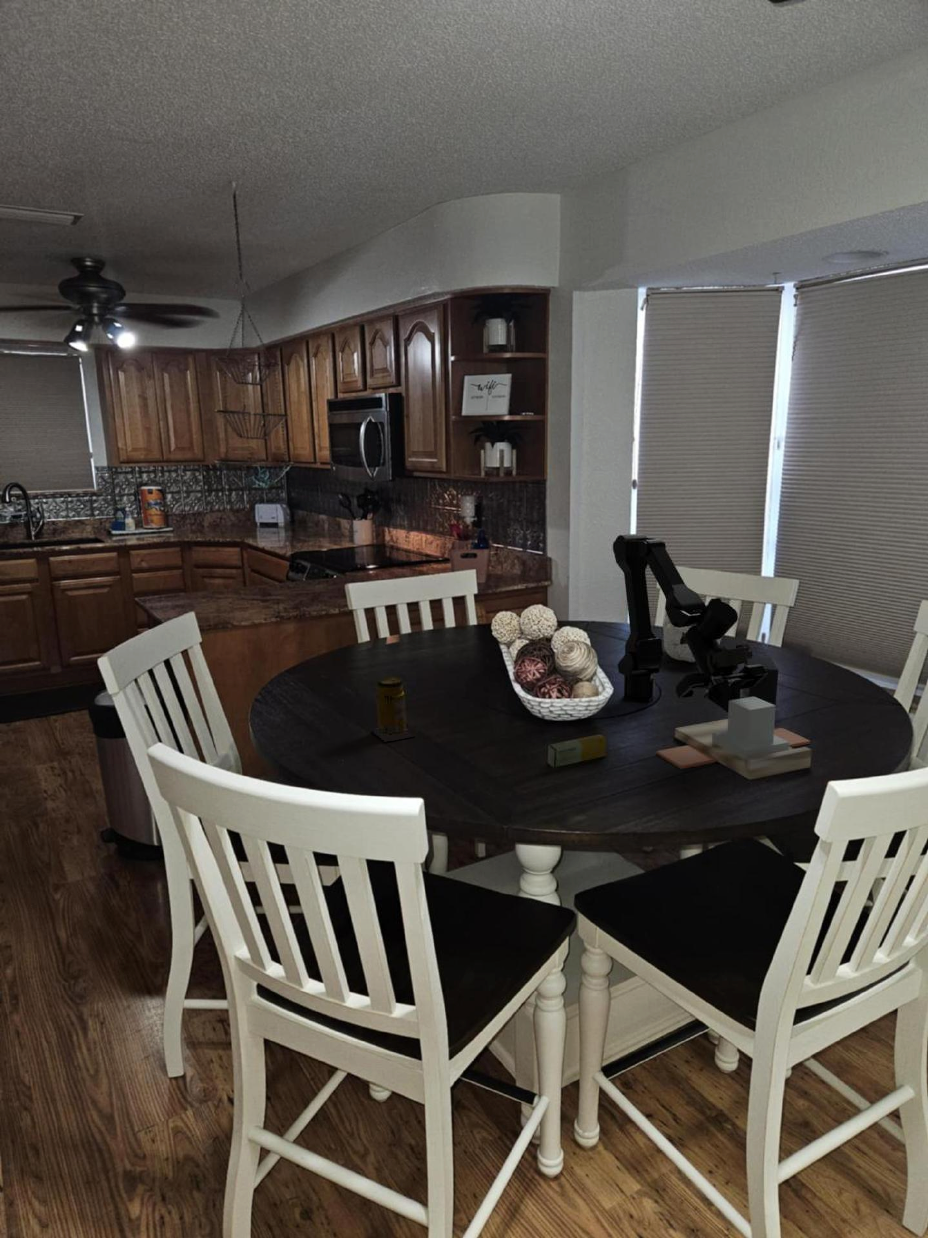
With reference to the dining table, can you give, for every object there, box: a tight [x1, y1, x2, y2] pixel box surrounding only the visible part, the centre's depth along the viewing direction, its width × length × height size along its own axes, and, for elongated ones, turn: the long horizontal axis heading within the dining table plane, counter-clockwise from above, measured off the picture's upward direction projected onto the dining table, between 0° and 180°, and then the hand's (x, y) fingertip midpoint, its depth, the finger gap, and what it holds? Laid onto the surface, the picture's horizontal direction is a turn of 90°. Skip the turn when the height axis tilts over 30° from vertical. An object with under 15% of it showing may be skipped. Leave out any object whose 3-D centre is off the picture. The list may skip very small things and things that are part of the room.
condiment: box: [376, 677, 407, 735], centre depth 170 cm, size 7×8×12 cm
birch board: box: [674, 718, 812, 781], centre depth 157 cm, size 23×14×4 cm, turn 20°
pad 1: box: [656, 744, 717, 770], centre depth 155 cm, size 8×8×1 cm
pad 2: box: [774, 727, 811, 748], centre depth 162 cm, size 8×8×1 cm
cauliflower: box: [662, 602, 723, 663], centre depth 222 cm, size 20×18×16 cm
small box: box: [740, 656, 779, 709], centre depth 182 cm, size 11×6×10 cm, turn 168°
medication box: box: [547, 733, 608, 768], centre depth 155 cm, size 12×3×4 cm, turn 113°
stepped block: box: [712, 697, 789, 760], centre depth 153 cm, size 10×10×9 cm
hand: (739, 718), depth 156 cm, fingers closed, pressing on stepped block
